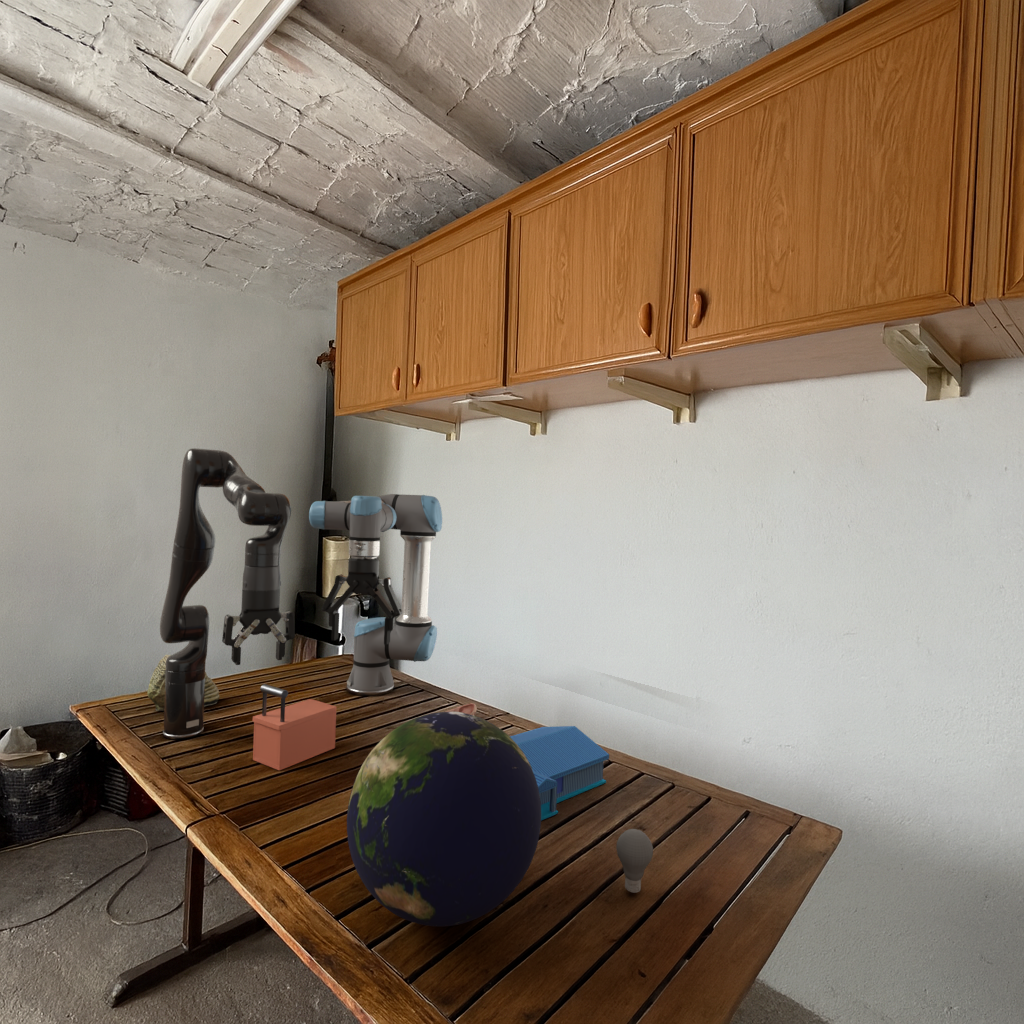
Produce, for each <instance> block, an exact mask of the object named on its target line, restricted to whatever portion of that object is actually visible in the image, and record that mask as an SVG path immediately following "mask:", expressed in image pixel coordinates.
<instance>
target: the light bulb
mask: <svg viewBox="0 0 1024 1024" xmlns="http://www.w3.org/2000/svg"><path fill="white" fill-rule="evenodd" d="M615 849H616V854H617V857H618V859H619V861H620V863H621V865H622V867H623V873H624V874H623V875H624V876H625V878H624V888H625V890H627V891H628V892H630V893H634V894H635V893H639V892H640V891H641V889H642V887H641V886H642V879H643V877H644V875H645V871H646V868H647V867H648V866H649V864H650V863H651V861H652V859H653V855H654V847H653V843H652V841H651V838H649V836H648V835H647V834H646V833H645V832H643V831H642V830H641V829H636V828H629V829H627V830H625V831H623V832H622V833H621V834H620V835H619V837H618V839H617V841H616V847H615Z"/></svg>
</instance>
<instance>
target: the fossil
mask: <svg viewBox="0 0 1024 1024" xmlns="http://www.w3.org/2000/svg"><path fill="white" fill-rule="evenodd" d="M171 655H172V654H165V655H164V656H163V657H162V658H161V659H160V660H159V662H158V663H157V666H156V667H155V669H154V670H153V672H152V675H151V677H150V680H149V684H148V688H147V697H148V699H149V700H150V701H152V703H153V704H154V706H155V711H158V712H159V711H162V712H163V711H164V705H165V674H166V660H167V658H168V657H169V656H171ZM220 698H221V696H220V690H219V688H218V686H217V685H216V683H215V682H214V681H213V679H212V678H211V677H209V675H208V674H207V672H206V671H205V693H204V707H207V706H213V705H215V704H217V703H218V701H219V699H220Z"/></svg>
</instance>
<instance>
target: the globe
mask: <svg viewBox="0 0 1024 1024" xmlns="http://www.w3.org/2000/svg"><path fill="white" fill-rule="evenodd" d="M347 804H348V805H347V811H346V812H347V813H346V835H347V843H348V848H349V853H350V857H351V860H352V863H353V865H354V868H355V870H356V873H357V874H358V876H359V878H360V880H361V882H362V884H363V885H364V886H365V888H366V889H367V891H368V892H369V894H370V895H371V896H372V897H373V898H374V899H375V900H376V901H377V903H379V904H380V905H382V906H383V907H384V909H386V910H387V911H390V912H391V913H392V914H393V915H395V916H397V917H399V918H400V919H403V920H405V921H408V922H411V923H413V924H418V925H421V926H426V927H437V928H438V927H441V928H443V927H453V926H458V925H463V924H466V923H468V922H472V921H474V920H477V919H479V918H481V917H483V916H485V915H487V914H489V913H490V912H491V911H493V910H494V909H495V908H497V907H499V906H500V905H501V904H502V903H503V902H504V901H505V900H507V899H508V897H510V895H511V894H512V893H513V892H514V891H515V889H516V888H517V887H518V886H519V885H520V883H521V882H522V880H523V879H524V878H525V876H526V874H527V872H528V870H529V868H530V866H531V863H532V861H533V859H534V857H535V854H536V852H537V848H538V844H539V839H540V833H541V826H542V821H541V801H540V794H539V789H538V785H537V782H536V778H535V775H534V773H533V770H532V767H531V765H530V763H529V761H528V760H527V758H526V756H525V755H524V753H523V751H522V750H521V749H520V748H519V746H518V745H517V744H516V743H515V742H514V741H513V740H512V739H511V737H510V735H508V733H506V732H505V731H504V730H503V729H501V728H500V727H499V726H497V725H496V724H494V723H493V722H490V721H488V720H486V719H484V718H482V717H479V716H477V715H475V714H474V715H470V714H466V713H461V712H445V711H439V712H432V713H427V714H424V715H420V716H418V717H415V718H412V719H410V720H408V721H406V722H404V723H403V724H401V725H399V726H397V727H395V728H394V729H393V730H392V731H390V732H389V733H388V734H386V735H385V737H383V738H382V739H381V740H380V741H379V742H378V743H377V744H376V745H375V746H374V747H373V748H372V749H371V751H370V752H369V753H368V755H367V757H366V758H365V759H364V761H363V763H362V765H361V766H360V769H359V770H358V773H357V775H356V777H355V779H354V782H353V786H352V788H351V792H350V795H349V800H348V803H347Z"/></svg>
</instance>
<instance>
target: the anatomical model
mask: <svg viewBox="0 0 1024 1024" xmlns="http://www.w3.org/2000/svg"><path fill="white" fill-rule="evenodd" d="M477 709H478V708H477V705H476V703H473V702H472V703H466V704H463V705H460V706H456V707H454V708H452V709H448V710H445V711H444V712H461V713H466V714H470V715H474V716H475V714H476V713H477Z"/></svg>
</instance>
